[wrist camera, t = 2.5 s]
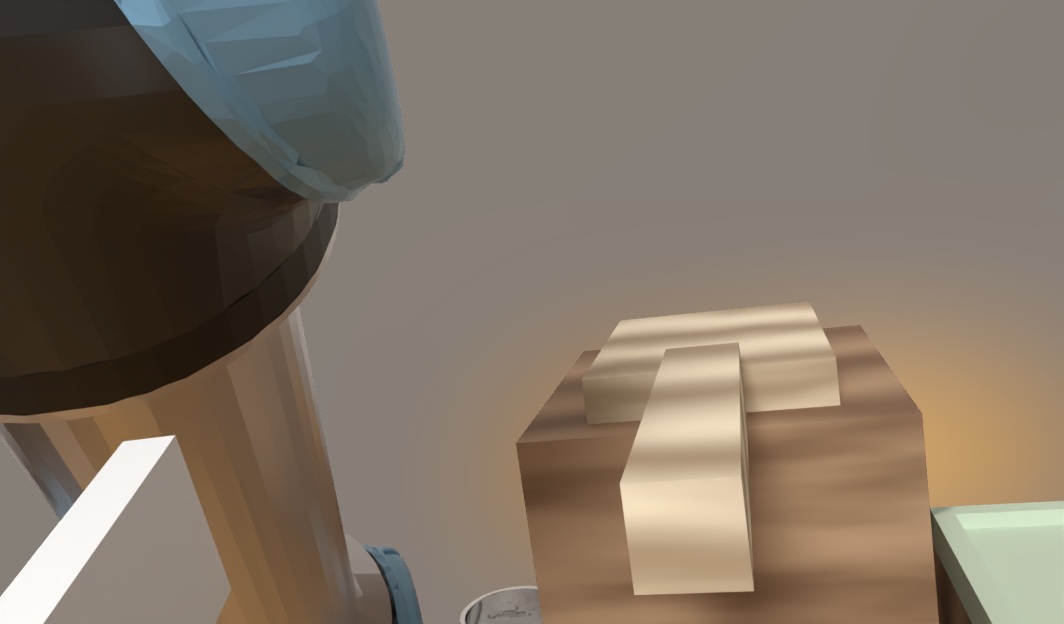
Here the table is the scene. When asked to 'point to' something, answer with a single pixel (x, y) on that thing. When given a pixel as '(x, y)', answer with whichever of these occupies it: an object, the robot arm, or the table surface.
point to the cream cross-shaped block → (701, 431)
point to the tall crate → (776, 509)
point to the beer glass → (505, 607)
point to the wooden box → (948, 597)
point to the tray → (1004, 560)
